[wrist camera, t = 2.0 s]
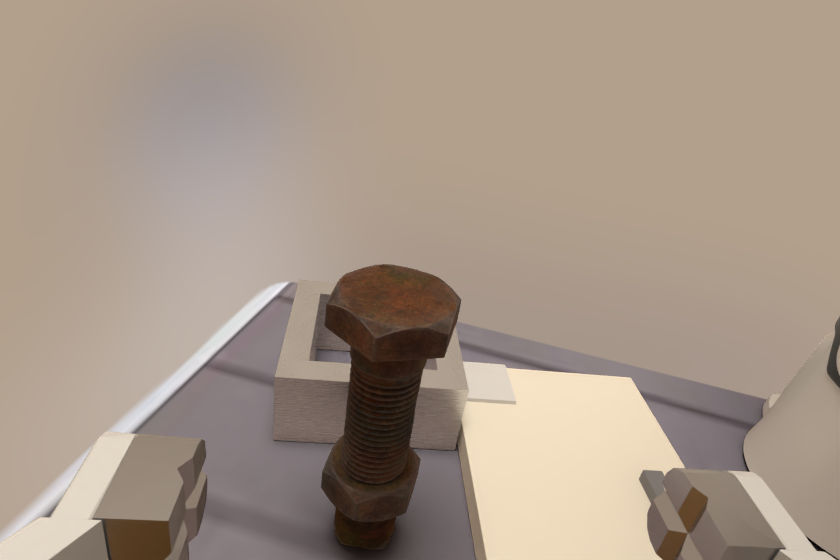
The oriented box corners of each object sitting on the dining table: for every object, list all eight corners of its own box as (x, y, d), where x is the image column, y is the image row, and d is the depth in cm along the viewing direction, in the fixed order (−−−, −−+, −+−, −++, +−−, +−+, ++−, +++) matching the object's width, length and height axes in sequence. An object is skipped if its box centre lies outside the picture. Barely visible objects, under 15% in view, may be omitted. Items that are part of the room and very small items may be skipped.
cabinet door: (623, 395, 44) (633, 369, 43) (810, 727, 25) (839, 697, 24) (447, 383, 42) (453, 355, 41) (503, 729, 23) (518, 696, 22)
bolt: (338, 478, 33) (362, 251, 26) (420, 503, 32) (468, 276, 25) (296, 565, 28) (311, 312, 21) (393, 596, 27) (443, 346, 20)
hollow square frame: (438, 345, 46) (448, 293, 44) (454, 450, 36) (468, 390, 34) (296, 334, 45) (299, 279, 43) (273, 440, 35) (274, 376, 33)
